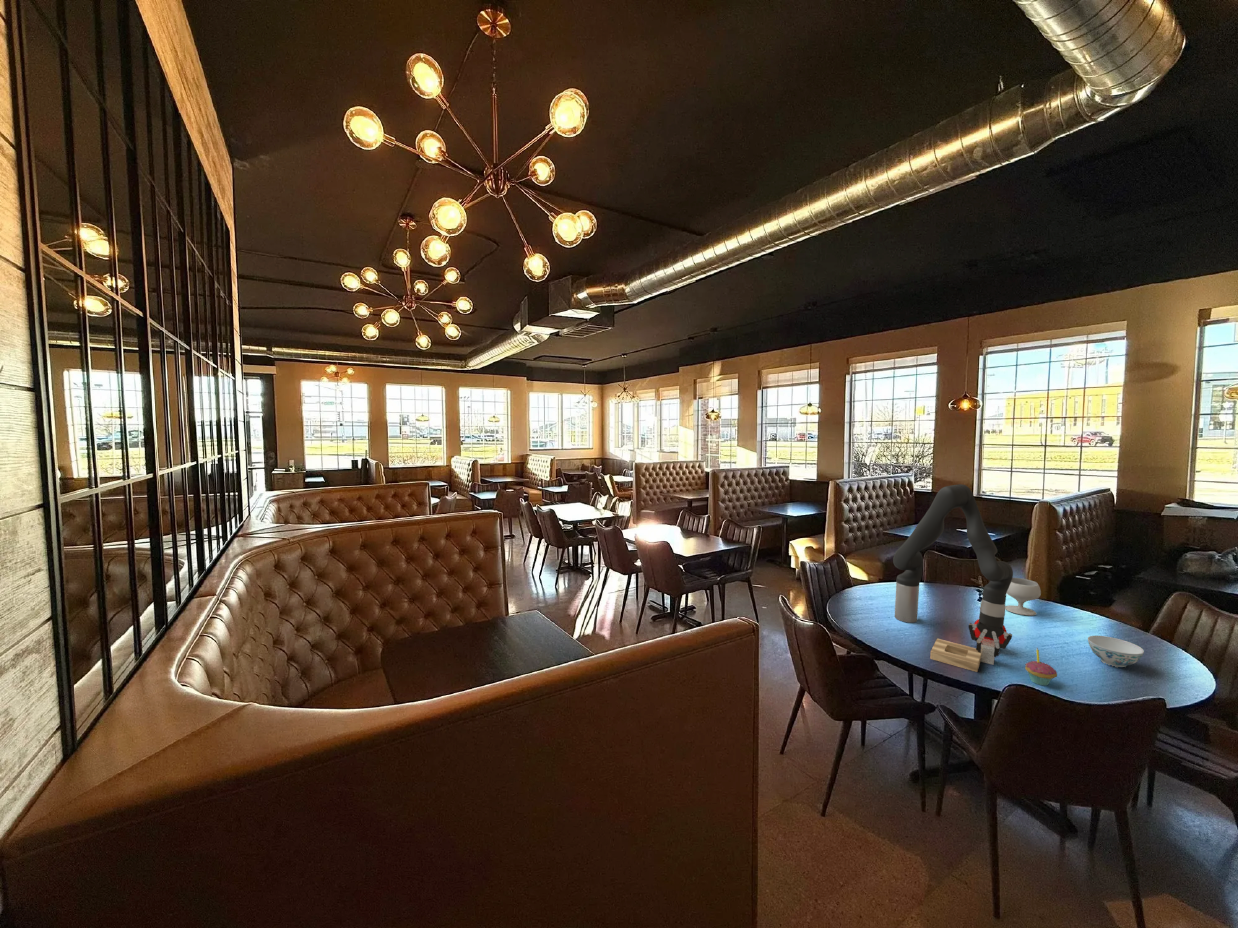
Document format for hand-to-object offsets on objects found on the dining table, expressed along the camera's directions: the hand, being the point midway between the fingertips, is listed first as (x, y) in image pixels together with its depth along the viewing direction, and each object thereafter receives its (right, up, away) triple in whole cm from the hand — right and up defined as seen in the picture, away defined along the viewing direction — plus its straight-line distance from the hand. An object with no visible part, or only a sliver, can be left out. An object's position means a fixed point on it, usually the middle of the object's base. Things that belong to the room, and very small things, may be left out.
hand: (987, 653), depth 186 cm
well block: (-10, -3, +3) cm, 11 cm away
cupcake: (+8, -5, -15) cm, 17 cm away
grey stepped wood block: (0, -3, 0) cm, 3 cm away
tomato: (+9, -2, +11) cm, 14 cm away
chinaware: (+47, -3, -2) cm, 48 cm away
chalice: (+53, +2, +48) cm, 72 cm away
